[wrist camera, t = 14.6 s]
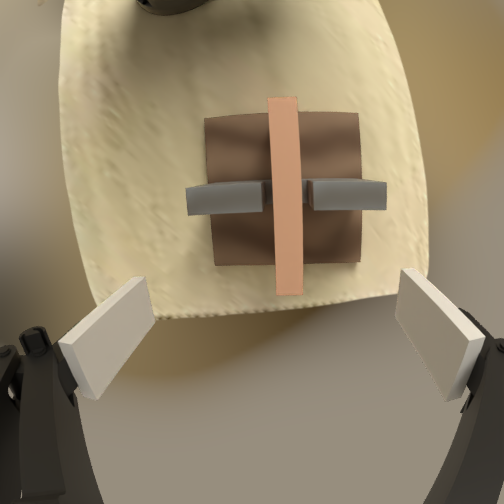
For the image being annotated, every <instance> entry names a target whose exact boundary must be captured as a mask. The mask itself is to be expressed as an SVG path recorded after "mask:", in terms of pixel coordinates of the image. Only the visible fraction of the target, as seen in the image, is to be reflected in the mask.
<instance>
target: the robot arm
mask: <svg viewBox="0 0 504 504" xmlns="http://www.w3.org/2000/svg"><path fill="white" fill-rule="evenodd" d="M136 1H137V2H138V3H139V4H140V5H141V6H142V7H143V8H144V9H145V10H146V11H148V12H150V13H153V14H157V15H172V14H178V13H182V12H185V11H188V10H191V9H193V8H196V7H198V6H200V5H202V4H203V3H205V2H207V1H208V0H136ZM395 318H396V320H397V321H398V323H399V325H400V326H401V328H402V329H403V331H404V332H405V334H406V336H407V337H408V339H409V340H410V342H411V344H412V345H413V347H414V349H415V350H416V352H417V354H418V355H419V357H420V358H421V360H422V362H423V363H424V365H425V367H426V369H427V370H428V372H429V374H430V376H431V377H432V379H433V381H434V383H435V385H436V386H437V388H438V390H439V392H440V394H441V395H442V397H443V399H444V401H445V402H447V401H450V400H454V399H457V398H460V397H461V396H462V394H463V392H464V390H465V387H466V385H467V387H468V388H469V390H470V391H471V392H470V395H469V396H468V398H467V400H466V402H465V404H464V406H463V408H462V410H461V412H460V413H463V414H462V417H461V420H460V423H459V426H458V429H457V432H456V435H455V437H454V440H453V442H452V445H451V447H450V450H449V452H448V455H447V457H446V459H445V461H444V464H443V466H442V468H441V470H440V473H439V474H438V477H437V478H436V481H435V483H434V484H433V487H432V488H431V491H430V492H429V494H428V496H427V498H426V499H425V501H424V503H423V504H497V500H498V498H499V495H500V491H501V488H502V485H503V481H504V339H502V338H499V339H494V338H493V337H492V336H491V335H490V333H489V332H488V331H486V329H485V328H484V327H482V325H480V324H479V322H477V320H475V318H474V317H473V316H472V315H471V314H470V313H468V312H466V311H465V310H463V309H461V308H457V307H456V306H455V305H454V304H453V303H452V302H451V301H450V300H449V299H448V298H447V297H446V296H444V295H443V294H442V293H441V292H440V291H439V290H438V289H437V288H436V287H435V286H434V285H432V284H431V283H430V282H429V281H428V280H427V279H426V278H425V277H424V276H423V275H422V274H420V273H419V272H418V271H417V270H416V269H415V268H403V269H401V274H400V283H399V291H398V298H397V305H396V311H395ZM154 323H155V318H154V314H153V310H152V305H151V301H150V296H149V291H148V287H147V282H146V277H132V278H131V279H130V280H129V281H127V282H126V283H125V284H124V285H123V286H121V287H120V288H119V289H118V290H117V291H115V292H114V293H113V294H112V295H111V296H109V297H108V298H107V299H106V300H105V301H103V302H102V303H101V304H100V305H99V306H98V307H96V308H95V309H94V310H93V311H92V312H91V313H89V314H88V315H87V316H86V317H85V318H84V319H83V320H81V321H79V322H78V323H77V324H76V325H74V327H73V328H71V329H70V330H69V331H68V333H65V334H64V335H63V336H62V337H61V338H60V339H59V340H58V341H57V342H55V343H54V344H53V345H51V342H50V340H49V337H48V335H47V332H46V329H45V328H44V327H40V326H37V327H32V328H29V329H27V330H25V331H24V332H23V333H22V334H20V336H19V340H20V342H21V345H22V347H23V349H24V351H25V353H26V355H25V356H23V355H19V353H18V351H17V349H16V347H15V346H14V345H8V346H6V345H5V346H3V347H1V348H0V504H104V503H103V500H102V497H101V494H100V491H99V489H98V485H97V482H96V479H95V476H94V473H93V469H92V466H91V462H90V458H89V455H88V451H87V447H86V443H85V438H84V434H83V429H82V425H81V419H80V414H79V409H78V402H77V397H76V395H75V393H74V390H75V389H76V388H77V386H78V387H79V389H80V391H81V393H82V395H83V397H86V398H89V399H93V400H96V401H97V400H98V399H99V398H100V396H101V395H102V393H103V392H104V391H105V389H106V388H107V386H108V385H109V384H110V382H111V381H112V379H113V378H114V377H115V375H116V374H117V373H118V371H119V370H120V369H121V367H122V366H123V364H124V363H125V362H126V360H127V359H128V358H129V356H130V355H131V354H132V352H133V351H134V350H135V348H136V347H137V346H138V344H139V343H140V342H141V340H142V339H143V338H144V336H145V335H146V334H147V332H148V331H149V330H150V328H151V327H152V326H153V325H154ZM8 387H9V388H10V389H11V391H12V393H13V395H14V396H13V398H11V397H10V396H9V394H8ZM21 489H22V498H20V497H21Z"/></svg>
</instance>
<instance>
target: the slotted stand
mask: <svg viewBox="0 0 504 504" xmlns="http://www.w3.org/2000/svg"><path fill="white" fill-rule="evenodd" d="M204 122H205V142H206V160H207V175H208V184H206V185H200V186H195V187H190V188H186V199H187V210H188V216H189V215H206V214H210V216H211V229H212V240H213V251H214V262H215V266H222V265H273V264H276V263H275V234H274V209H273V187H272V166H271V148H270V130H269V114H268V113H258V114H244V115H232V116H222V117H213V118H205V119H204ZM298 124H299V140H300V159H301V182H302V214H303V264H313V263H347V262H360V259H361V236H362V210H386V202H387V183H386V182H379V181H372V180H363V179H362V168H361V145H360V130H359V117H358V113H345V112H298Z"/></svg>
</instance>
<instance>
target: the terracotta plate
mask: <svg viewBox="0 0 504 504" xmlns="http://www.w3.org/2000/svg"><path fill="white" fill-rule="evenodd" d="M267 99H268V114H269V130H270V148H271V166H272V187H273V209H274V234H275V263H276V296H278V295H303V214H302V182H301V159H300V140H299V124H298V110H297V97H274V98H267Z"/></svg>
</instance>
